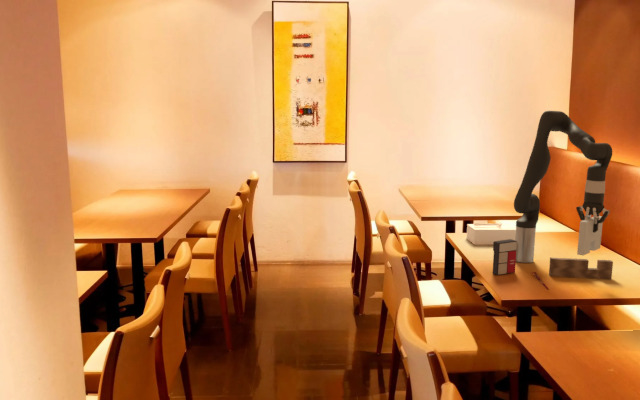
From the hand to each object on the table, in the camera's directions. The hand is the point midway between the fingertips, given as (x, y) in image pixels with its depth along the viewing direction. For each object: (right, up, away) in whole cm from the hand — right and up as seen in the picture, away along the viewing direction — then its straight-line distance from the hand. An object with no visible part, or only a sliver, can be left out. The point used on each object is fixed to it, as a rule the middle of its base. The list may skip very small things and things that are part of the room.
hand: (590, 231), depth 248 cm
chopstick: (-17, -23, +10) cm, 30 cm away
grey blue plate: (0, -8, +1) cm, 9 cm away
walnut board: (+3, -21, +16) cm, 27 cm away
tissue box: (-17, -11, +83) cm, 85 cm away
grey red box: (-30, -20, +21) cm, 42 cm away
